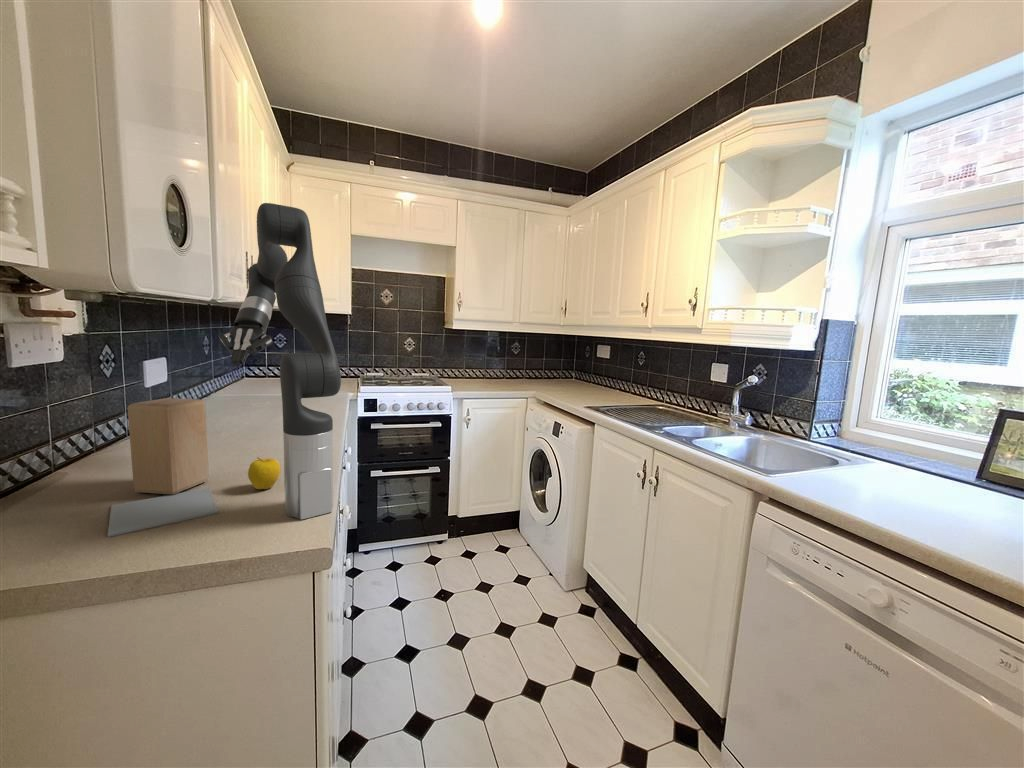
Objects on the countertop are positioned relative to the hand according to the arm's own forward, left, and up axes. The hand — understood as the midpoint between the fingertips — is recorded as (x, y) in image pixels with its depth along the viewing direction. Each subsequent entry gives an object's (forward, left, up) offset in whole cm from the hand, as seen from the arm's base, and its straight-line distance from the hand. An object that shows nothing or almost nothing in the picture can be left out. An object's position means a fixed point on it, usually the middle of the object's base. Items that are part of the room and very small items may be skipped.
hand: (236, 364), depth 103 cm
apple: (-17, -2, -28) cm, 33 cm away
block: (-5, +14, -28) cm, 32 cm away
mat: (-18, +16, -28) cm, 37 cm away
